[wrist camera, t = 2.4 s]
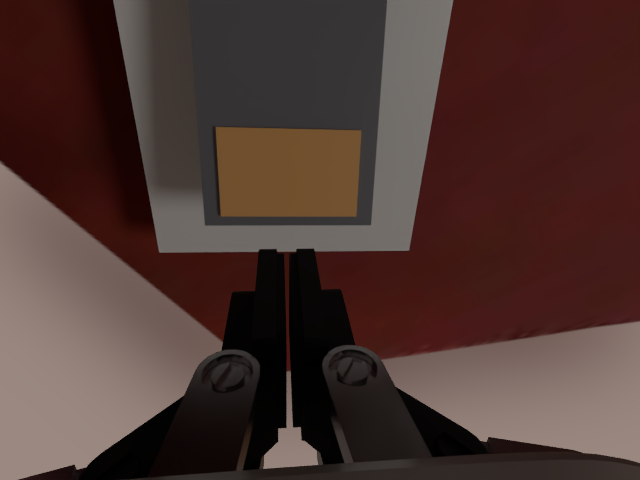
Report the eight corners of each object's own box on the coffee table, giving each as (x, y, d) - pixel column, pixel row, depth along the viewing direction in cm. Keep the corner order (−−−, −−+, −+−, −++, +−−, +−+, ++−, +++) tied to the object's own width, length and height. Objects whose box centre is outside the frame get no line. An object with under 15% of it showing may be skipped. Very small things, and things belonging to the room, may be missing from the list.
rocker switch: (187, -127, 15) (176, -156, 13) (386, -111, 16) (398, -135, 14) (210, 217, 20) (204, 226, 18) (364, 217, 20) (372, 226, 19)
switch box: (105, -224, 17) (35, -326, 12) (454, -187, 18) (515, -263, 14) (174, 224, 27) (152, 265, 23) (393, 223, 29) (415, 262, 24)
